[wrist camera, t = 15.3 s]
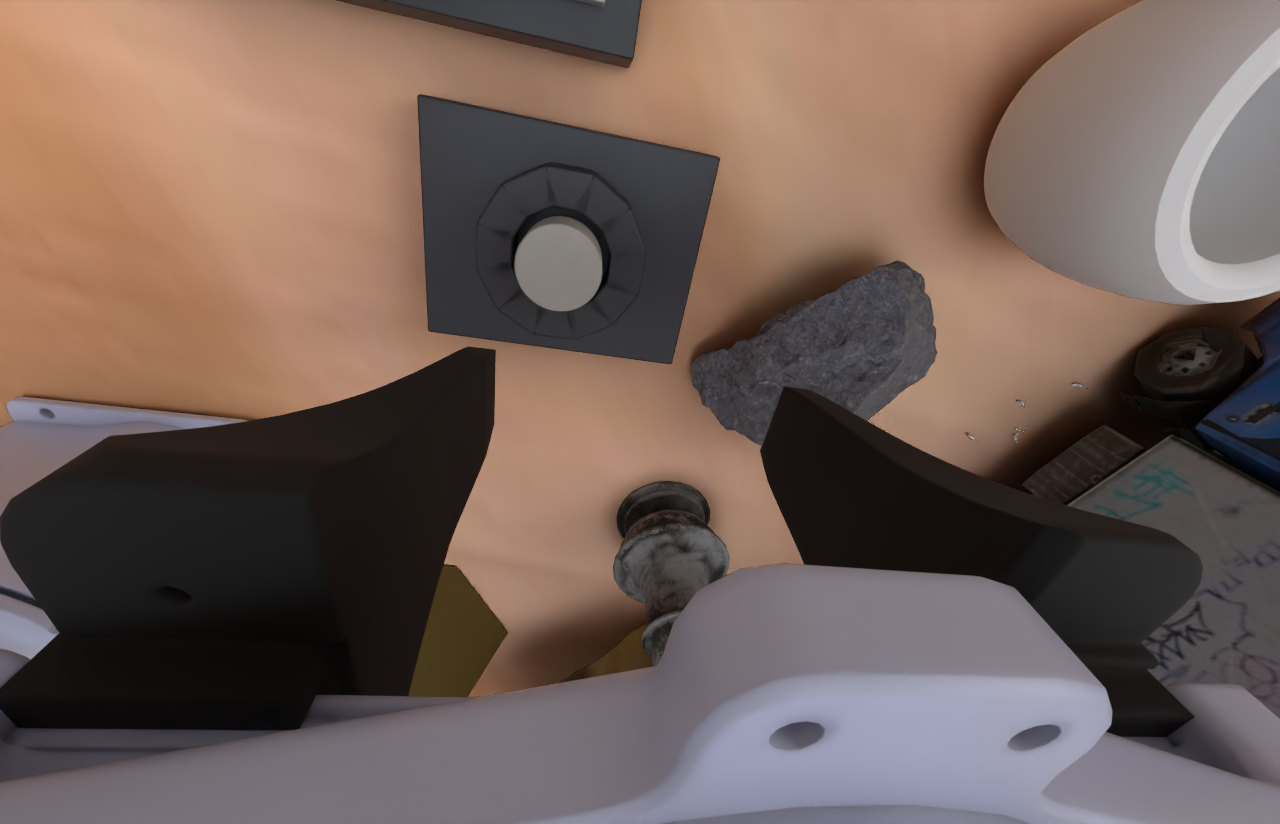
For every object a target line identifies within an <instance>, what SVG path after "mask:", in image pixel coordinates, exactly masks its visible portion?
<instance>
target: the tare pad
mask: <svg viewBox="0 0 1280 824" xmlns="http://www.w3.org/2000/svg"><path fill="white" fill-rule="evenodd" d="M417 98H418V120H419V142H420V163H421V185H422V207H423V228H424V250H425V272H426V294H427V315H428V330H429V331H430V332H437V333H444V334H452V335H459V336H466V337H474V338H481V339H488V340H496V341H503V342H511V343H518V344H525V345H533V346H540V347H547V348H555V349H562V350H569V351H577V352H584V353H591V354H599V355H606V356H613V357H621V358H628V359H635V360H643V361H650V362H657V363H665V364H672V361H673V357H674V353H675V348H676V344H677V340H678V336H679V332H680V327H681V323H682V319H683V315H684V310H685V306H686V302H687V298H688V293H689V289H690V285H691V281H692V276H693V272H694V268H695V264H696V259H697V255H698V251H699V247H700V242H701V238H702V234H703V230H704V226H705V221H706V217H707V213H708V209H709V204H710V200H711V196H712V192H713V187H714V183H715V179H716V175H717V170H718V166H719V162H720V158H719V157H717V156H713V155H709V154H704V153H699V152H694V151H690V150H685V149H680V148H675V147H671V146H666V145H661V144H656V143H651V142H647V141H642V140H637V139H632V138H628V137H623V136H618V135H613V134H608V133H604V132H599V131H594V130H589V129H585V128H580V127H575V126H570V125H565V124H561V123H556V122H551V121H546V120H542V119H537V118H532V117H527V116H522V115H518V114H513V113H508V112H503V111H499V110H494V109H489V108H484V107H479V106H475V105H470V104H465V103H460V102H456V101H451V100H446V99H441V98H436V97H432V96H426V95H421V94H420V95H418V97H417ZM553 216H565V217H570V218H573V219H575V220H577V221H579V222H581V223H583V224H584V225H585V226H587V227H588V228H589V229H590V230H591V232H592V233H593V234H594V235H595V237H596V239H597V241H598V243H599V245H600V248H601V253H602V279H601V283H600V286H599V288H598V290H597V292H596V293H595V295H594V296H593V297H592V298H591V300H590V301H588V302H587V303H586V304H584V305H583V306H581V307H579V308H577V309H574V310H570V311H553V310H549V309H546V308H543V307H541V306H539V305H537V304H536V303H534V302H533V301H532V300H531V299H530V298H529V297H528V296H527V295H526V294H525V293H524V292H523V290H522V289H521V287H520V285H519V283H518V281H517V278H516V274H515V266H514V262H515V255H516V251H517V249H518V246H519V244H520V243H521V241H522V239H523V238H524V236H525V235H526V234H527V232H528V231H529V230H530V228H531V227H532V226H533V225H535V224H536V223H537V222H539V221H541V220H543V219H545V218H548V217H553Z"/></svg>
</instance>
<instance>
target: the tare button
mask: <svg viewBox="0 0 1280 824" xmlns="http://www.w3.org/2000/svg"><path fill="white" fill-rule="evenodd" d="M514 266H515V274H516V278H517V281H518V283H519V285H520V287H521V289H522V290H523V292H524V293H525V294H526V295H527V296H528V297H529V298H530V299H531V300H532V301H533V302H534V303H536V304H537V305H539V306H541V307H543V308H546V309H549V310H553V311H570V310H574V309H577V308H579V307H581V306H583V305H584V304H586V303H587V302H588V301H590V300H591V298H592V297H593V296H594V295H595V293H596V292H597V290H598V288H599V286H600V283H601V279H602V253H601V248H600V245H599V243H598V241H597V239H596V237H595V235H594V234H593V233H592V232H591V230H590V229H589V228H588V227H587V226H585V225H584V224H583V223H581V222H579V221H577V220H575V219H573V218H570V217H565V216H553V217H548V218H545V219H543V220H541V221H539V222H537V223H536V224H535V225H533V226H532V227H531V228H530V230H529V231H528V232H527V234H526V235H525V236H524V238H523V239H522V241H521V243H520V244H519V246H518V249H517V251H516V255H515V262H514Z"/></svg>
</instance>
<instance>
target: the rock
mask: <svg viewBox="0 0 1280 824" xmlns="http://www.w3.org/2000/svg"><path fill="white" fill-rule="evenodd" d="M924 291H925V283H924V278H923V276H922V275H921V274H919V273H917V272H916V271H914V270H913V269H911V268H910V267H909V266H908V265H907V264H905V263H904V262H900V261H895V262H892V263H891V264H887V265H883V266H879V267H876V268H875V269H874V270H873V272H871V273H868V274H866V275H863V276H860V277H856V278H854V279H853V280H851V281H849V282H847V283H844V284H843V285H842V286H840V287H838V288H837V289H836V290H834V291H833V292H832V293H829V294H825V295H823V296H822V297H820V298H818V299H817V300H808V301H803V302H801V303H799V304H797V305H795V306H793V307H791V308H789V309H787V310H785V311H784V312H782V313H781V314H779V315H776V316H774V317H772V318H771V319H769V320H767V321H766V322H765V323H764V324H763V325H762V326H761V327H760V331H759V333H758V334H757V335H756V336H754V337H752V338H749V339H746V340H741V341H737V342H736V343H735V344H734V345H733V347H731V348H730V349H728V348H727V347H726V348H723V349H721V350H719V351H714V352H709V353H706V354H703V355H702V354H701V355H699V356H698V357H697V358H696V360H695V361H694V362H693V363H691V376H692V382H693V386H694V387H695V388H696V389H697V390H698V391H699V394H700V397H701V400H702V403H703V405H704V406H706V407H709V408H710V410H711V411H712V412H713V413H714V415H715V416H716V418H717V419H718V421H719V422H720V424H721V425H722V426H724V428H725V429H726V430H736V431H737V432H738V433H740V434H743V435H745V436H746V437H747V438H749V439H750V440H751V441H753V442H755V443H757V444H759V445H763V442H764V439H765V436H766V434H767V431H768V428H769V425H770V423H771V420H772V417H773V414H774V412H775V409H776V406H777V404H778V401H779V398H780V395H781V393H782V390H783V387H784V386H787V387H795V388H803V389H808V390H811V391H813V392H815V393H818V394H820V395H822V396H824V397H826V398H827V399H829V400H831V401H833V402H835V403H837V404H838V405H840V406H842V407H844V408H845V409H847V410H849V411H851V412H852V413H854V414H856V415H857V416H859V417H861V418H863V419H864V420H866V421H868V420H869V419H870V418H871V417H872V416H873V415H875V414H876V413H877V412H878V411H880V410H881V409H882V408H883V407H885V406H886V405H887V404H889V403H890V402H891V401H892V400H893V399H894V398H895V397H896V396H897V395H898V394H899V393H900V392H902V391H903V390H904V389H906V388H907V387H909V386H910V385H912V384H914V383H916V382H917V381H919V380H920V379H921V378H923V377H924V376H925V375H926V373H927V371H928V369H929V368H930V366H931V365H932V364H933V362H934V361H935V358H936V354H937V351H936V347H935V338H936V328H935V327H934V326H933V319H934V318H933V311H932V305H931V300H930V298H929V296H928V295H927V294H926V293H925V292H924Z"/></svg>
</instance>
